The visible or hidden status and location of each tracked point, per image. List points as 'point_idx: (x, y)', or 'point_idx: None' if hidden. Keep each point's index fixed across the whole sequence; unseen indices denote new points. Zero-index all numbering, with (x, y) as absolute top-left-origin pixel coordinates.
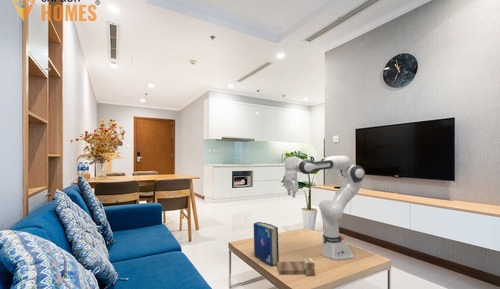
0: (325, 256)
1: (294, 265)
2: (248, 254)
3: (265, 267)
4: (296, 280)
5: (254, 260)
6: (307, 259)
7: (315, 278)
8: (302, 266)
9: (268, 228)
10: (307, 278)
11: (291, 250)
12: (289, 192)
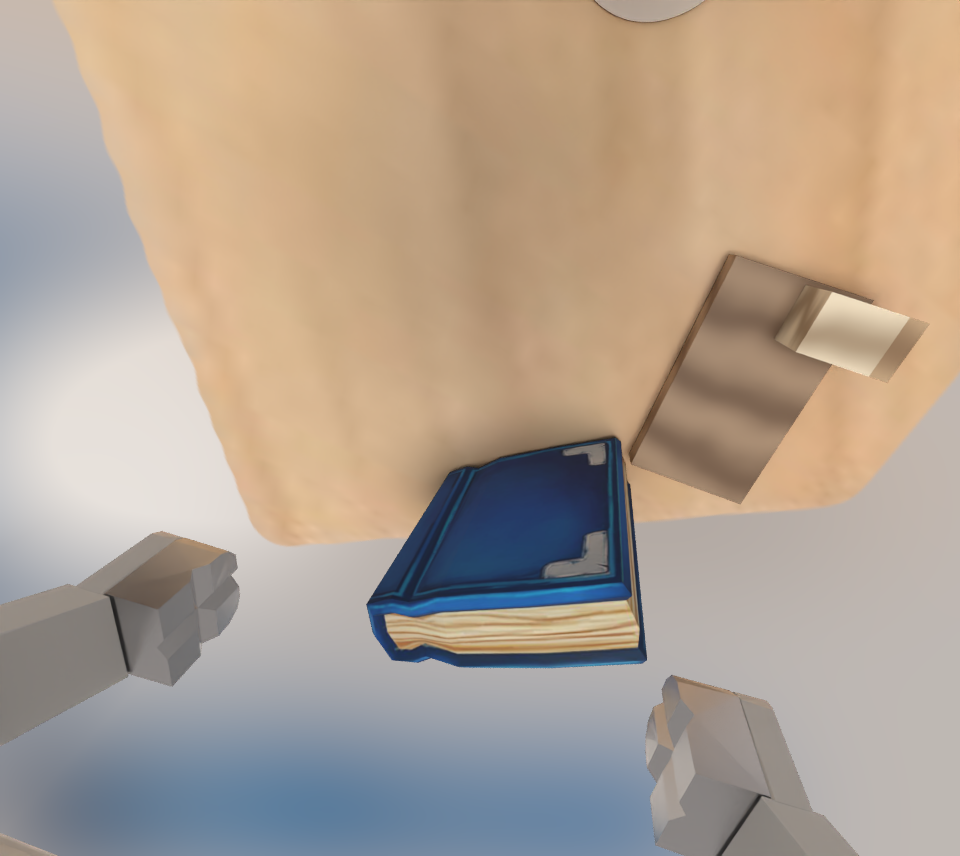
0: (680, 14)
1: (733, 392)
2: None
3: None
4: (845, 443)
5: None
6: (837, 336)
7: None
8: (777, 351)
9: (613, 663)
10: None
11: (460, 250)
12: (100, 636)
